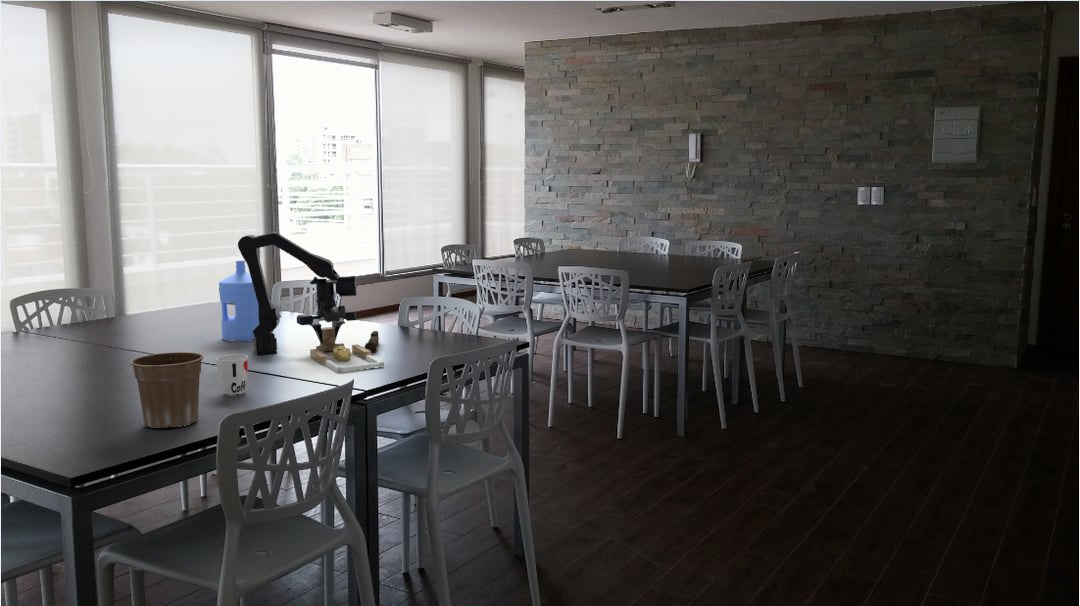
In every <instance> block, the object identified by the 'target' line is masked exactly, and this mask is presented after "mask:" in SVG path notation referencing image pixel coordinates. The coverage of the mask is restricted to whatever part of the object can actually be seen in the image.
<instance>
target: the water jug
mask: <svg viewBox="0 0 1080 606" xmlns="http://www.w3.org/2000/svg"><path fill="white" fill-rule="evenodd" d="M235 264H236V265H235V269H236V270H235V273H233V274H231V275H229V276H227V277H226V278H223V279H222V280H220V281H219V282H218V293H219V300H220V301H219V302H221V315H222V316H221V320H220V321H221V338H222V340H224V339H225V340H224V341H226V340H234V341H242V342H249V341H248V340H253V341H254V334H253V330H254V329H255V328H256V327H257V326H258V325H259V317H258V302H257V298H256V294H255V291H254V287H253V283H252V279H251V276H250V272H249V273H248V272H247V271H246V261H245V260H236V261H235ZM227 303H229V304H230V303H231V304H234V311H235V312H234V313H235V314H234V315H233V316H228V306H227V305H228V304H227ZM246 340H247V341H246ZM234 341H233V342H234Z"/></svg>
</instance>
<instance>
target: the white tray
mask: <svg viewBox="0 0 1080 606" xmlns="http://www.w3.org/2000/svg"><path fill="white" fill-rule="evenodd" d="M365 360H366V361H367V360H368V361H367V362H369V361H370V362H369V363H363V364H353V365H346V366H340V365H338V364H336V363H335V362H333V360H330V359H328V360H325V363H326V364H325V366H327V367H328V368H330V369H332V370H333V372H336V373H338V374H342V373H348V372H349V373H350V371H351V372H356V371H355V370H359V371H362V370H361V369H367V368H375V367H382V366H384V367H385V363H384V361H381V360H380V359H378V358H376V357H374V356H372V354H371V355H366V359H365ZM371 362H372V363H371ZM375 369H376V368H375ZM367 370H368V369H367Z"/></svg>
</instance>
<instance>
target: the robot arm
mask: <svg viewBox="0 0 1080 606" xmlns="http://www.w3.org/2000/svg"><path fill="white" fill-rule="evenodd" d="M268 246H275V247H276V248H279V249H280V250H281V251H283V252H285V253H286V254H288V255H290V256H291V257H293V258H294V259H296V260H297V261H300V262H302V263H303V264H304V265H306V267H308V269H309V270H310V271H312V272H313V273H314V274H315V275H316V276H313V279H312V280H310V282H309V284H310V285H316V286H315V288H316V299H315V302H316V306H317V307H316V309H317V310H316V315H311V314H309V313H305V314H298V315H297V316H296V324H298V325H299V326H310V327H312V329H313V330H314V332H315V335H316V336H317V338H318V341H319V344H320V343H321V344H322V333H321V328H322V324H321V323H320V322H324V321H325V322H326V323H331V327H332V328H334V329H335V342H336V340H337V337H338V334H339V331H340V329H341V326H342V325H344V324H346V321H347V322H352V321H357V315H356V312H354V311H353V310H350V309H347V310H346V306H345V305H338V306H337V302H336V299H335V293H336V294H337V295H339V296H338V297H357V295H358V293H357V292H358V290H357V289H358V288H357V287H358V285H357V281H356V275H347V276H340V275H339V273H338V272H337V271H336V270H335V268H334V263H333V262H332V261H331V260H330V259H329V258H326V257H323V256H320V255H317V254H315V253H311V252H310V251H308V250H307V249H304V248H303V247H301V246H300V245H299V244H296V243H295V242H293V241H292V240H290V239H288V238H286V237H285V236H283V235H281V234H280V232H277V231H274V232H271V233H267V234H261V235H257V236H256V235H254V234H246V235H244V236H242V237H241V238H239V240H238V242H237V248H238V249H239V253H240V254H241V256H242V258H243V261H245V264H247V268H248V271H249V274H250V276H251V279H252V283H253V287H254V291H255V294H256V298H257V302H258V317H259V325H258V326H257V327H256V328H255V329H254V330H253V334H254V340H253V347H254V349H253V350H252V352H253V353H254V354H255V355H257V356H262V355H272V354H277V353H278V340H277V338H276V335H275V333H273V332H274V330H275V329H276V328H277V327H278V326H279V324H280V322H281V321H280V320H281V318H282V315H281V314H280V311H279V305H274V304H273V303H272V301H271V298H270V294H269V290H268V286H267V282H266V278H265V274H264V271H263V267H262V263H261V248H264V247H268ZM317 276H318V277H317Z"/></svg>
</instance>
